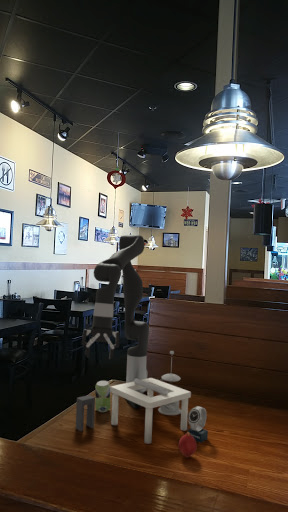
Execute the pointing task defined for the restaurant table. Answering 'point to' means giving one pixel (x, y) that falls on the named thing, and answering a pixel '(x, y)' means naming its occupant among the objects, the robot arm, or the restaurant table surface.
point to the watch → (198, 418)
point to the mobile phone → (134, 404)
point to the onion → (187, 445)
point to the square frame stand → (150, 400)
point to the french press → (174, 406)
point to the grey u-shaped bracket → (81, 403)
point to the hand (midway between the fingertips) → (98, 358)
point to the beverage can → (102, 396)
